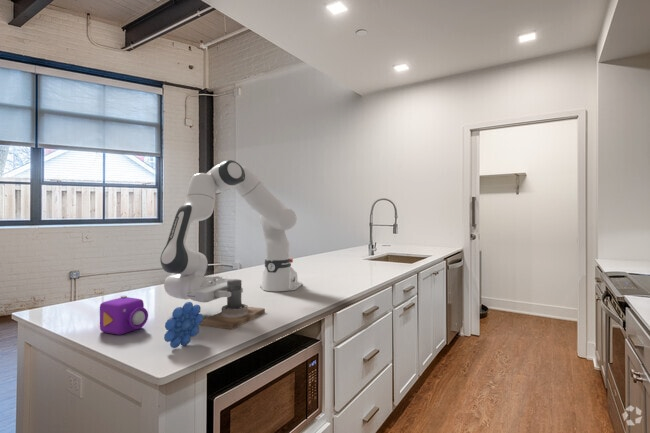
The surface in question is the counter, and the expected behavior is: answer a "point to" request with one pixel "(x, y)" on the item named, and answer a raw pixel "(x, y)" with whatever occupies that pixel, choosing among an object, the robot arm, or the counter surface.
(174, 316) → the blue lumpy cluster
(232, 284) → the grey rounded cylinder
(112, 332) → the toy camera
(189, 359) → the counter surface
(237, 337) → the counter surface
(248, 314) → the mount
